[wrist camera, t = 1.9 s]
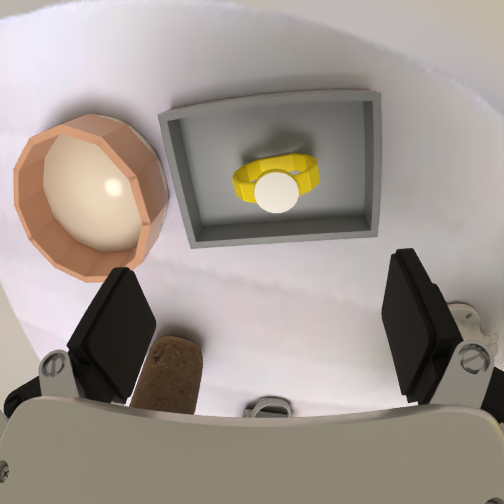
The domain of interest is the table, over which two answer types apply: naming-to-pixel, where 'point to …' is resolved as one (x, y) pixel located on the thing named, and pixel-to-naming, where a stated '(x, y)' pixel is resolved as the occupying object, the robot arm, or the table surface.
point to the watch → (276, 181)
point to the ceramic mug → (261, 414)
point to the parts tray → (270, 145)
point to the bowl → (91, 196)
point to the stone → (170, 377)
